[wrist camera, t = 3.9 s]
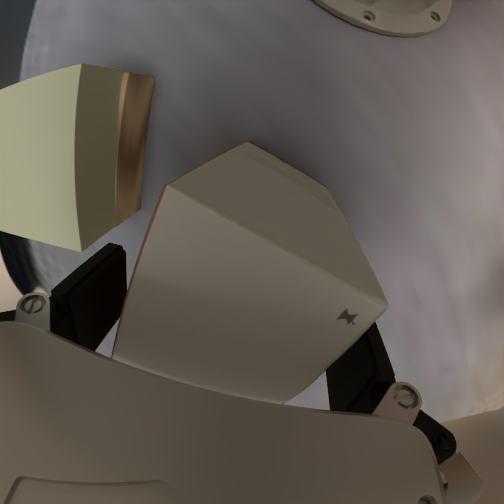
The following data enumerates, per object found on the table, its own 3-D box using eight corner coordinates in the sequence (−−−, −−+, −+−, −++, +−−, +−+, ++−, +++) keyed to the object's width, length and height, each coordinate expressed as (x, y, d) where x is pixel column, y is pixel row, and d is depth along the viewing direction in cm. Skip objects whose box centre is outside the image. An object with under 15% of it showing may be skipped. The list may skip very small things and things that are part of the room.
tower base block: (61, 85, 16) (29, 86, 12) (157, 79, 16) (128, 72, 12) (55, 192, 21) (26, 205, 17) (142, 208, 20) (116, 226, 17)
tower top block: (25, 91, 13) (-13, 95, 9) (123, 71, 12) (81, 63, 9) (27, 210, 17) (-6, 228, 14) (116, 225, 17) (81, 252, 13)
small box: (246, 139, 17) (163, 174, 5) (329, 187, 18) (399, 307, 6) (195, 237, 21) (105, 370, 9) (269, 276, 21) (248, 434, 10)
